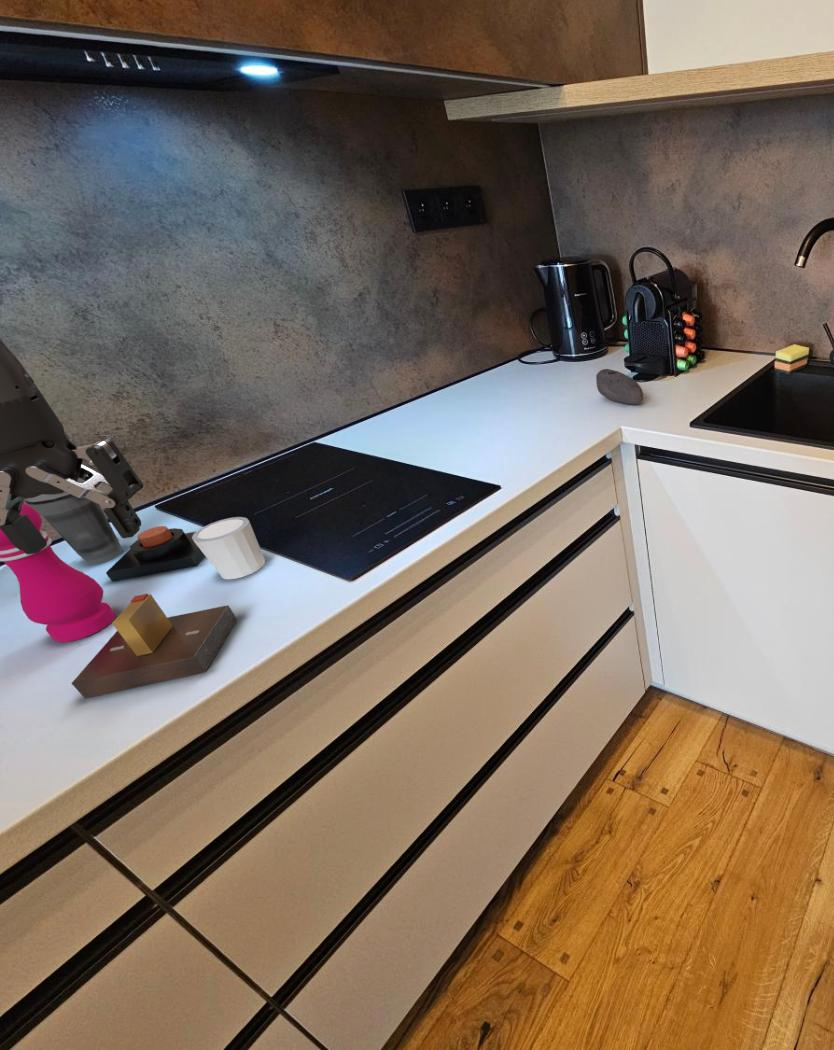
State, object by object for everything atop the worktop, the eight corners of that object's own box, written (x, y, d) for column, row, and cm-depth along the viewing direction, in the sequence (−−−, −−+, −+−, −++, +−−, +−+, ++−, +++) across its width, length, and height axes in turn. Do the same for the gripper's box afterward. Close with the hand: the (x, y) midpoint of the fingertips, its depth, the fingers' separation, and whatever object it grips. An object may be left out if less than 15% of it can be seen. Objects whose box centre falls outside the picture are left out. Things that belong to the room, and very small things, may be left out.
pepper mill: (51, 626, 78) (-59, 494, 67) (121, 602, 82) (27, 473, 71) (45, 654, 73) (-75, 515, 63) (119, 627, 77) (18, 492, 66)
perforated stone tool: (651, 405, 137) (648, 376, 134) (634, 411, 134) (630, 382, 131) (613, 393, 147) (609, 365, 143) (596, 398, 144) (592, 370, 140)
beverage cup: (104, 544, 96) (24, 430, 86) (145, 542, 96) (69, 428, 86) (61, 570, 90) (-31, 451, 80) (105, 568, 90) (18, 448, 79)
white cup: (215, 588, 83) (190, 547, 79) (215, 567, 88) (191, 527, 84) (271, 569, 86) (249, 529, 83) (268, 550, 91) (247, 511, 88)
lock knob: (152, 652, 68) (127, 618, 65) (136, 656, 67) (110, 621, 65) (173, 626, 72) (149, 592, 69) (158, 629, 72) (134, 595, 69)
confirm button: (138, 550, 88) (132, 540, 87) (150, 538, 91) (144, 528, 90) (166, 545, 88) (160, 535, 88) (177, 533, 91) (171, 524, 90)
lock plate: (84, 699, 66) (69, 682, 64) (131, 641, 74) (119, 625, 73) (205, 672, 68) (193, 655, 67) (237, 619, 76) (228, 603, 75)
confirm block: (112, 582, 86) (97, 562, 84) (143, 550, 94) (130, 532, 92) (196, 566, 89) (184, 547, 87) (220, 536, 96) (210, 518, 94)
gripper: (-155, 421, 50) (-21, 575, 58) (46, 396, 53) (145, 546, 61) (-82, 395, 56) (29, 537, 64) (94, 374, 59) (178, 513, 67)
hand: (86, 541), depth 63 cm, fingers open, 8 cm apart
